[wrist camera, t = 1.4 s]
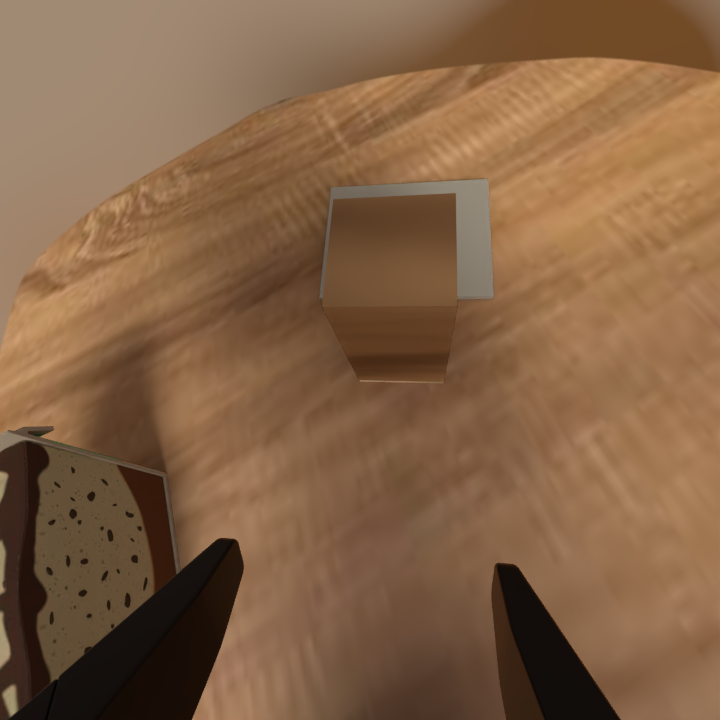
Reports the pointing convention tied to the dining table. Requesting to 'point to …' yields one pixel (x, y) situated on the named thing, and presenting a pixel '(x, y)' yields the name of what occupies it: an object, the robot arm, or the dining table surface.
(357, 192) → the mat
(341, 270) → the walnut block
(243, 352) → the dining table surface
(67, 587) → the food container
